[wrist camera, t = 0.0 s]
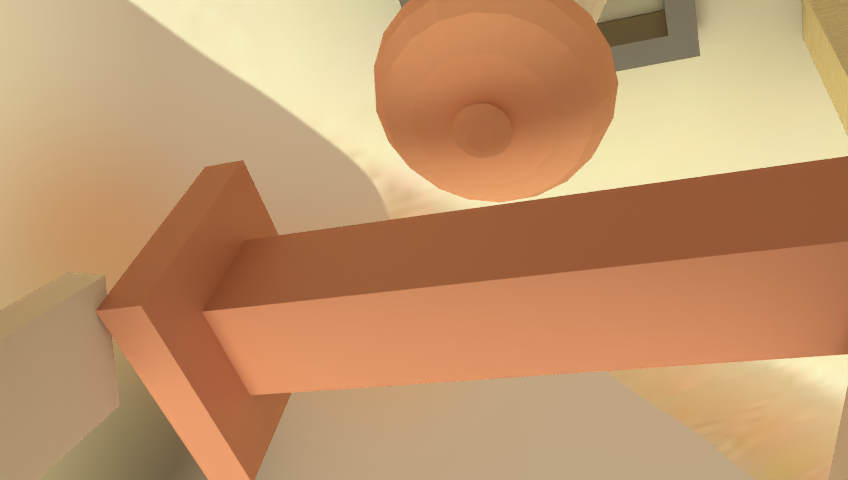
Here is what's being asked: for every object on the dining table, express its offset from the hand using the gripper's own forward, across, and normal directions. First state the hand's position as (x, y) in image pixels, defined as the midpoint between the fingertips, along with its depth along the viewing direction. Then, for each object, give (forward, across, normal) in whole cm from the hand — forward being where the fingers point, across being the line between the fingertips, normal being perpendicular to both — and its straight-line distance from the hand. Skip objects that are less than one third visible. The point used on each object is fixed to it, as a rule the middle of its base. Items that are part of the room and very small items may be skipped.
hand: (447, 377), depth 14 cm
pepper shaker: (+27, -1, +9) cm, 28 cm away
